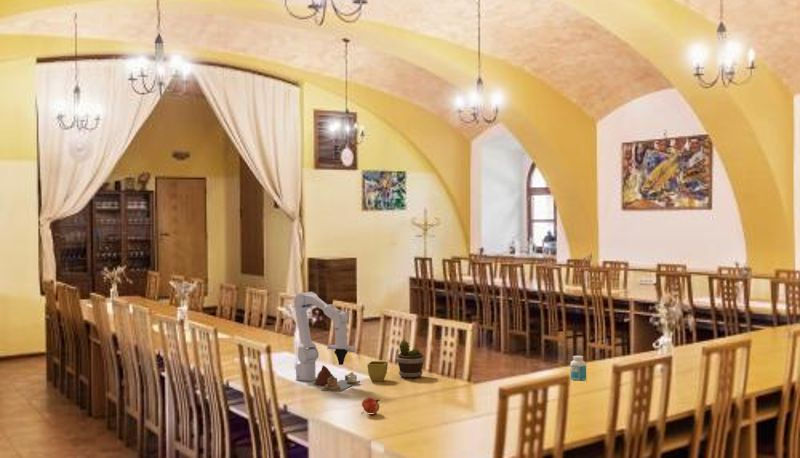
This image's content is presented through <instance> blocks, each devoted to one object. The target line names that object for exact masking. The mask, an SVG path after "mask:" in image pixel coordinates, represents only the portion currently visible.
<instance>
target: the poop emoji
mask: <svg viewBox="0 0 800 458" xmlns="http://www.w3.org/2000/svg"><path fill="white" fill-rule="evenodd" d="M330 376H334V375H333V373H331V370H329V369H328V367H326V366H325V365H322V366H321V369H320V371H319V372H318V373H316V377H317V379H316V380H314V384H315V385H316V386H319V387H323V386H324V387H325V386H326V385H328V378H330Z"/></svg>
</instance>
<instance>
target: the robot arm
mask: <svg viewBox="0 0 800 458" xmlns="http://www.w3.org/2000/svg"><path fill="white" fill-rule="evenodd" d="M293 300H294V305H295V307H294V312H295V316H296V322H297V328H298V335H299V340H300V344H299V346H298V347H297V359H298V361H297V363H296V366H295V379H294V380H295V381H306V382H307V381H308V382H313V381H315V380H316V379H317V373H316V362H317V360H318V358H319V355H320V354H319V350H318V348H317V345H316V343H314V342H313V341H312V336H311V335H312V334H311V330H310V323H309V319H308V313H307V312H308V309H310V308H311V307H312V306H313V305H314V306H316V307H317V308H318V309H320V310H322V312H323V314H324V315H325V316H326V317H328V318H329V319H331V321H332V323H333V327H334V344H327V345H326V346H327V347H326V348H327V349H326V350H334V351H333V352H334V354H335V356H336V359H337V362H338V365H339V366H342V365H344V363H345V358H346V357H347V356H346V355H347V354H348V351H350V352H353V351H356V346H355V345H348V341H347V340H348V339H347V338H348V335H347V334H348V329H347V327H348V326H347V324H348V323H349V321H350V316H349V313H348V312H347V311H342V310H341V309H338V308H337V307H335V304H333V303H332V304H328V303H326V302H325V301H323V300H322V299H321V298H319V296H318V294H317V293H315V292H314V291H309V292H308V291H307V292H302V293H301V292H299V293H297V294H296V295H295V296H294V298H293Z"/></svg>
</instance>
